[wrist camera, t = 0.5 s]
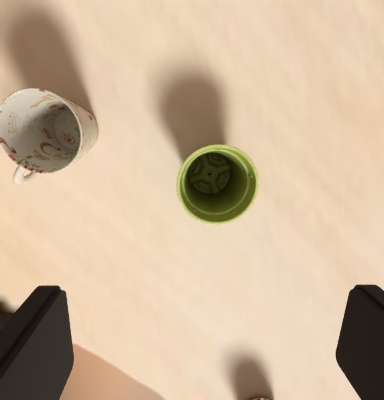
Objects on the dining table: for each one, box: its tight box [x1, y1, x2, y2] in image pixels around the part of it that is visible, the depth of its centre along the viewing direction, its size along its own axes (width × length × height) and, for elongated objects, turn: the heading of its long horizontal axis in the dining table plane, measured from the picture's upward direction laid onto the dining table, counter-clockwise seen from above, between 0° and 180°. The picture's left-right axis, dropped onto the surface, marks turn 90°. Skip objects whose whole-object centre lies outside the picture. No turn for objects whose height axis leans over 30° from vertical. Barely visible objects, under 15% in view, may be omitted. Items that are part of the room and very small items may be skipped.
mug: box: [0, 88, 98, 186], centre depth 32 cm, size 8×13×10 cm, turn 142°
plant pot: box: [177, 144, 259, 224], centre depth 34 cm, size 9×9×9 cm
